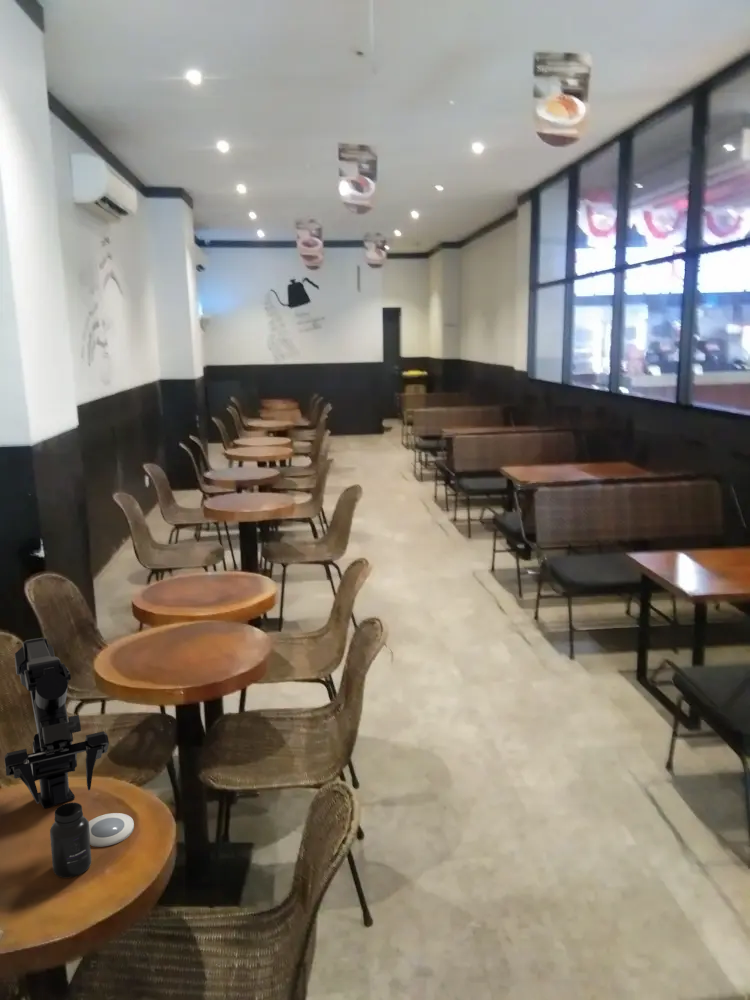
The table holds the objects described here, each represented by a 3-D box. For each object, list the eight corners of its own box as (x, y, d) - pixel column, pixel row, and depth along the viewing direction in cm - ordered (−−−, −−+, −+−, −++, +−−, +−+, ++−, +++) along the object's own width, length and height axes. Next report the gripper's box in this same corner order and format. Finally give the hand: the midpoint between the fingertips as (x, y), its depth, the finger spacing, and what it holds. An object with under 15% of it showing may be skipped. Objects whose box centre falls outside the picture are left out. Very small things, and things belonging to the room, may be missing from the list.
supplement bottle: (79, 881, 143) (73, 822, 140) (45, 876, 144) (39, 818, 142) (99, 857, 149) (94, 801, 147) (67, 853, 151) (61, 797, 148)
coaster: (75, 828, 158) (74, 824, 158) (123, 810, 164) (123, 806, 164) (91, 853, 151) (90, 849, 150) (141, 833, 156) (141, 829, 156)
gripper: (-1, 714, 146) (9, 797, 139) (103, 693, 155) (118, 770, 147) (1, 735, 154) (10, 814, 147) (100, 714, 163) (113, 788, 155)
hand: (64, 796), depth 149 cm, fingers open, 9 cm apart
